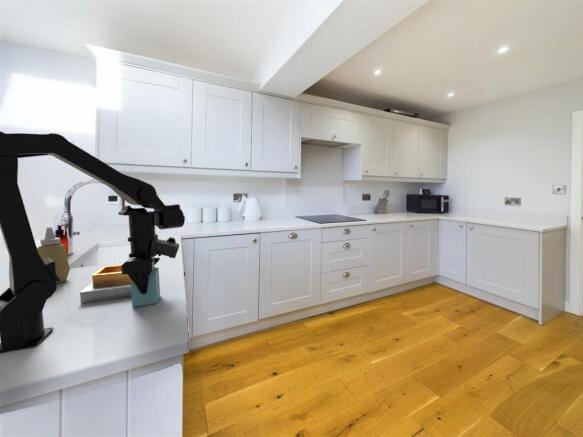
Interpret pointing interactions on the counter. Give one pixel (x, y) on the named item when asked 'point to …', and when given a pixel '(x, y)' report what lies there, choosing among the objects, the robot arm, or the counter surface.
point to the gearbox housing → (107, 285)
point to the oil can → (152, 291)
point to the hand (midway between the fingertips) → (146, 289)
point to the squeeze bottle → (55, 254)
